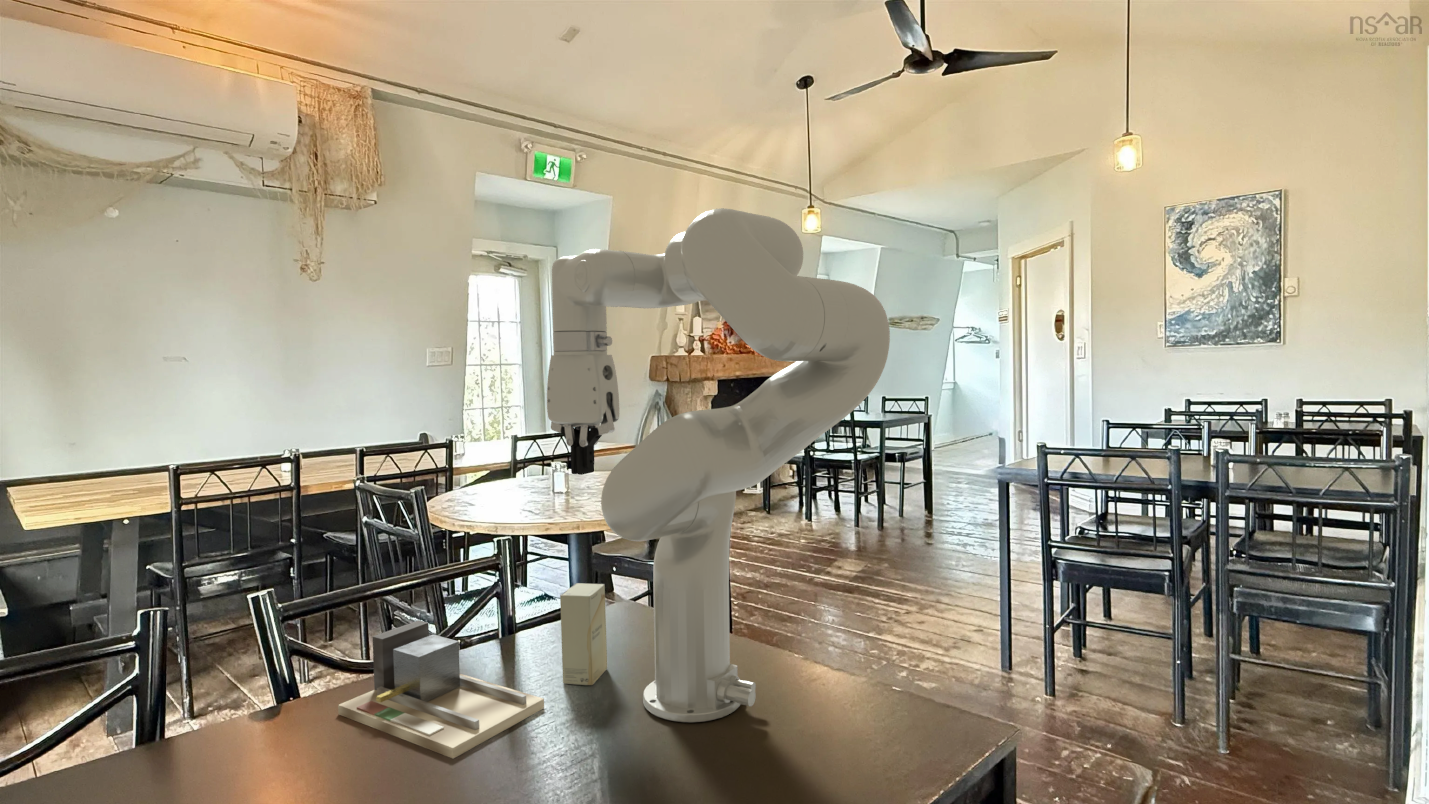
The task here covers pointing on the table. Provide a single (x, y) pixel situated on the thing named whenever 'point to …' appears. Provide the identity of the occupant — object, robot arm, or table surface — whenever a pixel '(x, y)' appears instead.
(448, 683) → the block
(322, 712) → the table surface
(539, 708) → the gauge board
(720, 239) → the robot arm
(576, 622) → the skincare box
